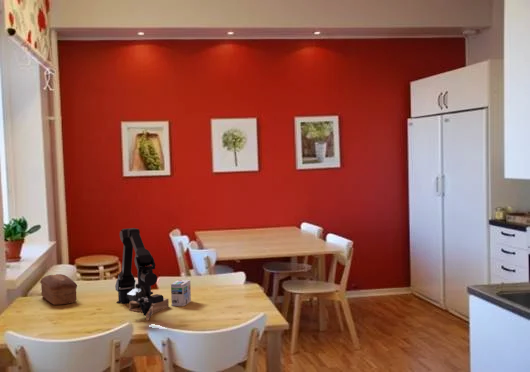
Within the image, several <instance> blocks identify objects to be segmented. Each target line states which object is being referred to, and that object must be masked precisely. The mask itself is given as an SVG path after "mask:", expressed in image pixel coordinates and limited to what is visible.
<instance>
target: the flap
mask: <svg viewBox="0 0 530 372" xmlns="http://www.w3.org/2000/svg"><path fill="white" fill-rule="evenodd" d="M153 312H154V308H153V306H152V307H151V308H150V309H149V311H148V312H147V314H146V321H149V320H150V318H151V317H152V315H153V314H154V313H153Z"/></svg>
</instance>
